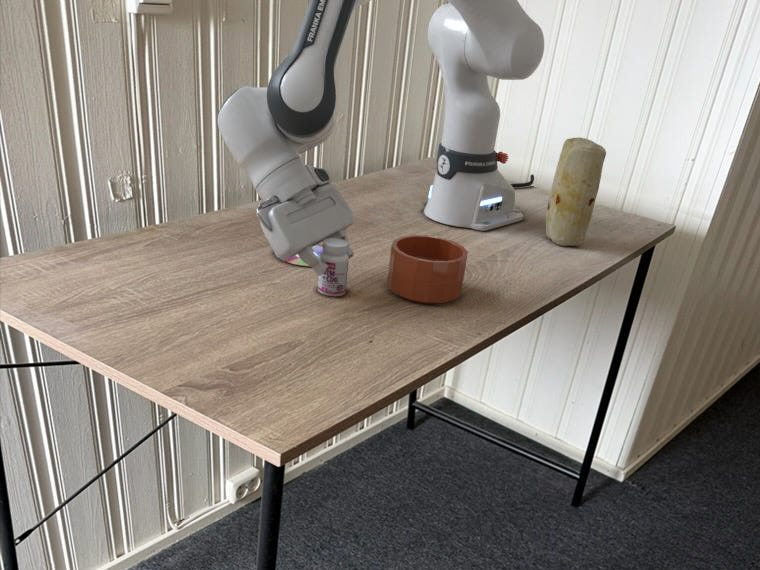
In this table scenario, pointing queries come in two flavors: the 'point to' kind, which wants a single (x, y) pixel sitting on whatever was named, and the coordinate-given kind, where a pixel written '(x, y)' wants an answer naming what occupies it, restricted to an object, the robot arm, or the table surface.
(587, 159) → the food model
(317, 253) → the cd
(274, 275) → the table surface
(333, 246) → the pill bottle
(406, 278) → the pot
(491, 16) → the robot arm
